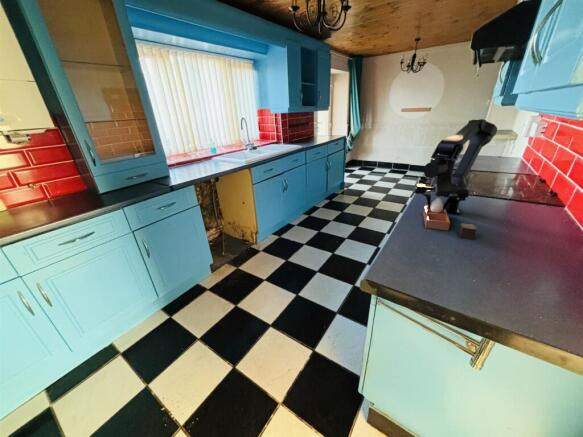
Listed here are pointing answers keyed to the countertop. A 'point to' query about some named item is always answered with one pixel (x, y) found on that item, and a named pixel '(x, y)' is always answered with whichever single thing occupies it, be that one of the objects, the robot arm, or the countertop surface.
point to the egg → (436, 205)
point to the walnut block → (467, 231)
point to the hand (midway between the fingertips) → (435, 209)
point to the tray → (436, 219)
